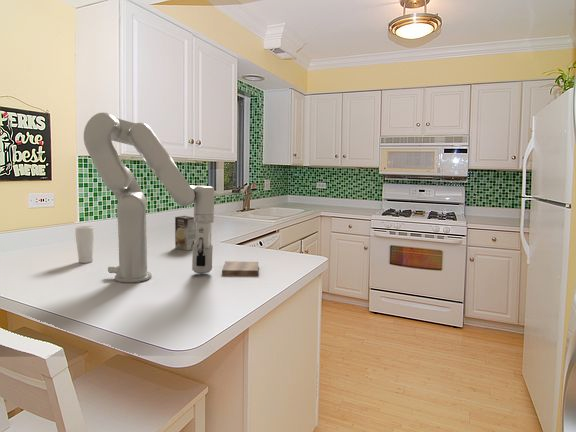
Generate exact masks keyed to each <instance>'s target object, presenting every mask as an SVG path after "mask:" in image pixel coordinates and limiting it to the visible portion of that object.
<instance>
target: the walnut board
mask: <svg viewBox="0 0 576 432" xmlns="http://www.w3.org/2000/svg"><path fill="white" fill-rule="evenodd" d="M221 276H251V277H252V276H254V277H255V276H259V261H229V260H228V261H227V260H226V261H224V264H223V267H222V270H221Z"/></svg>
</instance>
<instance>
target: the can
mask: <svg viewBox="0 0 576 432" xmlns="http://www.w3.org/2000/svg"><path fill="white" fill-rule="evenodd" d="M197 247H198V245H197ZM202 247H203V248H204V246H202ZM213 247H214V246H213V244H212V241H211V242H210V247H209V249H207V248H205V266H197V265H196V261H197V248H196V241H195V244H194V245H193V249H192V259H191V260H192V262H191V263H192V264H191V270H192V271H193V272H194V273H196V274H202V275H203V274H208V273H210V272H211V271H212V270H213ZM202 250H203V249H202Z"/></svg>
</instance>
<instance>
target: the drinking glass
mask: <svg viewBox="0 0 576 432" xmlns="http://www.w3.org/2000/svg"><path fill="white" fill-rule="evenodd" d="M75 241H76V242H75V243H76V249H77V257H78V262H79V263H80V264H89V263H92V262H93V260H94V241H95V231H94V226H92V225H80V226H76V227H75Z"/></svg>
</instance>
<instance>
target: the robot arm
mask: <svg viewBox="0 0 576 432" xmlns="http://www.w3.org/2000/svg"><path fill="white" fill-rule="evenodd" d="M83 142H84V146H85V148H86V151H87V152H88V155H89V157H90V159H91V161H92V162H93V164H94V167H95V168H96V170H97V172H98V175H99V176H100V178H101V179H102V182H103V185H104V186H105V187H106V188H107V189H108V190H110V191H111V192H112V193H113V196H114V197H115V199H116V200H117V204H116V205H117V206H116V217H117V218H116V219H117V235H118V266H108V267H107V272H108V273H109V274H115V275H114V280H115V281H116V282H118V283H127V284H130V283H139V282H145V281H147V280H149V279H151V278H152V272H150V271H148V256H147V255H148V250H147V248H148V247H147V243H148V242H147V205H148V201H147V198H146V196H145V194H144V193H143V191H142V189H141V187H140V185H139V183H138V181H137V179H136V177H135V175H134V174H133V172H132V170H130V168H128V167H127V166H125V164H124V163H123V162H122V161H123V160H122V159H121V157H120V156H119V153H118V152H117V150H116V148H115V147H114V145H113V142H117V143H119V144H120V143H121V144H125V145H129V146H133V147H134V148H135V151H137V152H138V153H139V155H140V156H141V158H142V159H143V160H144V162H145V163H146V165H147V166H148V167H149V170H151V171H152V173H153V174H154V175H155V176H156V178H157V179H158V180H159V181H160V183H161V184H162V185H163V187H164V188H165V189H166V190H167V193H169V195H170V196H171V198H172V199H173V200H174V203H176V204H177V205H179V206H181V207H188V206H190V205H191V204H193V217H194V222H195V223H196V248H197V261H196V265H197V266H205V248H207V249H209V247H210V242H211V243H212V223H214V221H215V220H214V219H215V194H216V192H215V188H214V187H213V186H209V185H208V186H207V185H197V186H196V185H190V183H189V182H188V181H187V180H186V178H185V177H184V175H183V174H182V173H181V171H180V169H179V168H178V166H177V165H176V163H175V161H174V159H173V158H172V156H171V155H170V153H169V151H167V149H166V148H165V147H164V144H163V143H162V142H161V140H160V139H159V138H158V136H157V135H156V134H155V132H154V131H153V129H152V128H151V127H150V126H149V125H148V124H146V123H145V122H132V121H129V120H124V119H121V118H117V117H115V116H114V115H113V114H111V113H108V112H98V113H96V114H94V115H92V116H91V117H90V119H89V120H88V121H87V122H86V125H85V127H84V130H83ZM197 245H198V247H197ZM202 246H204V248H203V247H202ZM202 249H203V250H202Z"/></svg>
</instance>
